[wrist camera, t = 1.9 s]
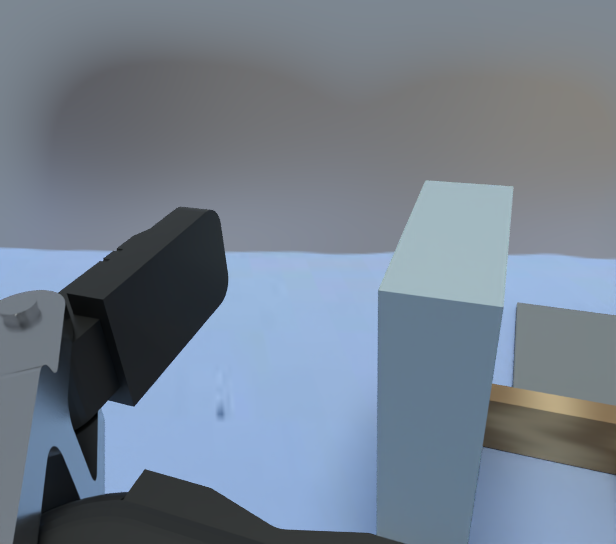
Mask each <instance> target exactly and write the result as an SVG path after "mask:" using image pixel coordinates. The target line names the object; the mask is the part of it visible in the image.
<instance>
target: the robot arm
mask: <svg viewBox="0 0 616 544" xmlns="http://www.w3.org/2000/svg"><path fill="white" fill-rule="evenodd" d="M103 259H104V260H103V261H99V262H98V263H97V264H96V265H94V266H93V267H92V268H90V269H89V270H88V271H86V272H85V273H84V274H82V275H81V276H80V277H78V278H77V279H76V280H74V281H73V282H72V283H70V284H69V285H68V286H66V287H65V288H64V289H62V290H61V291H60V292H58V293H56V292H53V291H47V290H36V291H28V292H23V293H19V294H15V295H12V296H9V297H7V298H4V299H2V300H0V544H405V543H402V542H398V541H395V540H391V539H388V538H384V537H381V536H377V535H374V534H370V533H356V532H332V531H307V530H285V529H279V528H276V527H274V526H272V525H270V524H268V523H266V522H265V521H263V520H262V519H260V518H258V517H257V516H255V515H254V514H252V513H250V512H249V511H247V510H246V509H244V508H242V507H241V506H239V505H237V504H236V503H234V502H233V501H231V500H229V499H228V498H226V497H225V496H223V495H221V494H220V493H218V492H216V491H215V490H213V489H212V488H209V487H205V486H202V485H198V484H195V483H191V482H188V481H184V480H181V479H177V478H174V477H170V476H167V475H163V474H160V473H156V472H153V471H149V470H146V469H145V470H144V471H143V473H142V474H141V475H140V477H139V478H138V479H137V481H136V482H135V484H134V485H133V486H132V488H131V489H130V491H129V492H121V493H109V494H105V420H104V416H103V413H102V410H101V407H102V406H103V405H104V404H105V403H106V402H107V401H108V400H109V401H113V402H117V403H121V404H125V405H129V406H135V405H136V404H137V403H138V401H139V400H140V399H141V398H142V397H143V396H144V394H145V393H146V392H147V391H148V390H149V388H150V387H151V386H152V385H153V384H154V383H155V381H156V380H157V379H158V378H159V377H160V375H161V374H162V373H163V372H164V371H165V369H166V368H167V367H168V366H169V365H170V364H171V362H172V361H173V360H174V359H175V358H176V356H177V355H178V354H179V353H180V352H181V351H182V349H183V348H184V347H185V346H186V345H187V343H188V342H189V341H190V340H191V339H192V337H193V336H194V335H195V334H196V333H197V332H198V330H199V329H200V328H201V327H202V326H203V324H204V323H205V322H206V321H207V320H208V319H209V317H210V316H211V315H212V314H213V313H214V311H215V310H216V309H217V308H218V307H219V306H220V304H221V303H222V301H223V300H224V297H225V295H226V292H227V287H228V271H227V264H226V257H225V250H224V244H223V236H222V230H221V223H220V219H219V216H218V214H217V213H216V212H215V211H213V210H207V209H197V208H188V207H178V208H176V209H175V210H174V211H172V212H171V213H170V214H168V215H167V216H166V217H165V218H163V219H162V220H161V221H159V222H158V223H157V224H156V225H154V226H153V227H152V228H151V229H148V230H146V231H144V232H141V233H139V234H137V235H134V236H133V237H131V238H130V239H129V240H127V241H126V242H125V243H123V244H122V245H121V246H119V247H118V248H117V251H113V252H111V253H110V254H109V255H107V256H106V257H105V258H103Z"/></svg>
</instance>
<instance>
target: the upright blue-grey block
mask: <svg viewBox="0 0 616 544" xmlns="http://www.w3.org/2000/svg"><path fill="white" fill-rule="evenodd" d="M512 198H513V186H498V185H483V184H468V183H454V182H440V181H439V182H438V181H425V183H424V185H423V188H422V190H421V192H420V195H419V197H418V200H417V202H416V204H415V206H414V209H413V211H412V213H411V215H410V218H409V220H408V223H407V225H406V227H405V229H404V232H403V234H402V236H401V239H400V241H399V243H398V246H397V248H396V250H395V252H394V255H393V257H392V259H391V262H390V264H389V266H388V269H387V271H386V273H385V276H384V278H383V280H382V283H381V285H380V287H379V289H378V391H377V536H381V537H384V538H388V539H391V540H395V541H398V542H402V543H405V544H468V540H469V533H470V527H471V520H472V513H473V507H474V500H475V493H476V487H477V480H478V473H479V467H480V460H481V453H482V447H483V440H484V433H485V427H486V420H487V413H488V407H489V400H490V393H491V387H492V380H493V373H494V367H495V360H496V353H497V347H498V340H499V334H500V327H501V320H502V314H503V307H504V295H505V282H506V270H507V258H508V245H509V233H510V221H511V210H512Z"/></svg>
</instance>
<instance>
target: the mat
mask: <svg viewBox="0 0 616 544" xmlns="http://www.w3.org/2000/svg"><path fill="white" fill-rule="evenodd" d="M513 387H514V388H519V389H525V390H530V391H536V392H542V393H547V394H553V395H558V396H564V397H570V398H575V399H581V400H587V401H592V402H598V403H603V404H609V405H615V406H616V315H608V314H601V313H593V312H586V311H578V310H570V309H563V308H555V307H548V306H540V305H533V304H525V303H517V308H516V328H515V349H514V370H513Z"/></svg>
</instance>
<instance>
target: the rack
mask: <svg viewBox="0 0 616 544" xmlns="http://www.w3.org/2000/svg"><path fill="white" fill-rule="evenodd" d="M483 446H484V447H488V448H493V449H498V450H503V451H507V452H512V453H517V454H521V455H526V456H531V457H535V458H540V459H545V460H549V461H554V462H559V463H563V464H568V465H573V466H577V467H582V468H587V469H591V470H596V471H601V472H605V473H610V474H615V475H616V406H615V405H609V404H603V403H598V402H592V401H587V400H581V399H575V398H570V397H564V396H558V395H553V394H547V393H542V392H536V391H530V390H525V389H519V388H514V387H508V386H502V385H497V384H492V387H491V393H490V400H489V407H488V413H487V420H486V427H485V433H484V440H483Z"/></svg>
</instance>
